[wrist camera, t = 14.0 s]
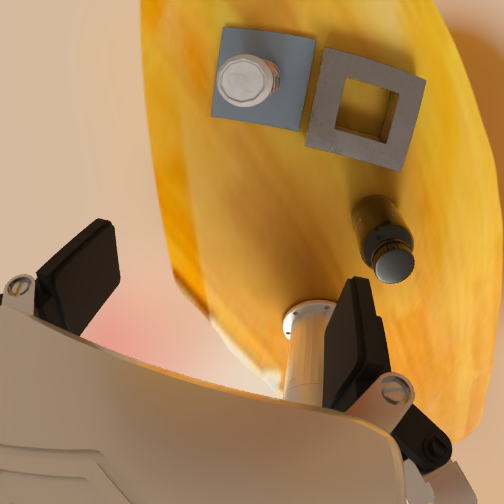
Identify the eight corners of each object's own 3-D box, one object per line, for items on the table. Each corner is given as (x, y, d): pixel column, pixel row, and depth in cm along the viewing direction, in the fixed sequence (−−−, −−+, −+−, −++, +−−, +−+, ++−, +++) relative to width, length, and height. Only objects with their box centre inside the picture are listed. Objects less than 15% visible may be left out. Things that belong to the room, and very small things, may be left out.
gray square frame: (393, 163, 35) (400, 172, 32) (304, 139, 35) (304, 146, 32) (416, 79, 28) (426, 80, 25) (323, 49, 28) (325, 47, 25)
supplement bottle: (374, 244, 42) (389, 300, 32) (341, 218, 40) (350, 270, 31) (406, 213, 38) (433, 264, 28) (374, 183, 37) (397, 228, 27)
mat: (298, 130, 35) (298, 131, 34) (212, 115, 35) (211, 116, 35) (316, 40, 28) (316, 39, 27) (224, 27, 28) (223, 27, 28)
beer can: (280, 98, 32) (268, 111, 22) (240, 95, 33) (212, 106, 23) (284, 61, 29) (274, 55, 20) (243, 58, 30) (215, 52, 20)
